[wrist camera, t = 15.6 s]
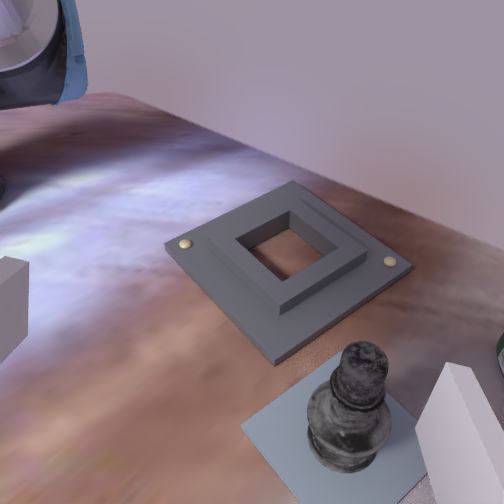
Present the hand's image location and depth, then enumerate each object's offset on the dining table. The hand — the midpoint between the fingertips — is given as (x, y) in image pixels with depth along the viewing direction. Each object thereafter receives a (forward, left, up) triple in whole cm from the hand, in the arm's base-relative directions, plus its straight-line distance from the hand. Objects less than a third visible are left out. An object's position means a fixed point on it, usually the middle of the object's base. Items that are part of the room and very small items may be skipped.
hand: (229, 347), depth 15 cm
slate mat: (-1, +10, -23) cm, 25 cm away
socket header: (-18, +19, -23) cm, 35 cm away
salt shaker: (-1, +10, -23) cm, 25 cm away
